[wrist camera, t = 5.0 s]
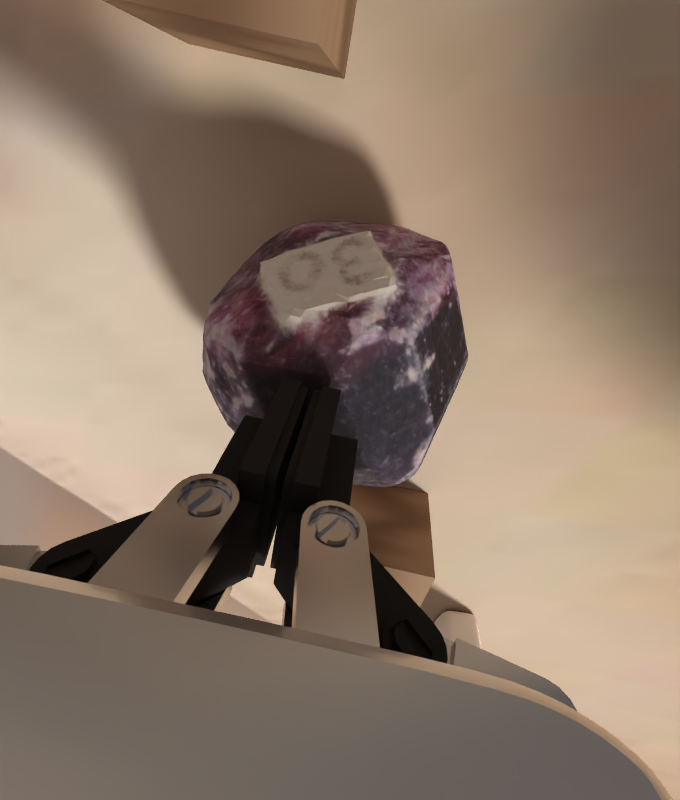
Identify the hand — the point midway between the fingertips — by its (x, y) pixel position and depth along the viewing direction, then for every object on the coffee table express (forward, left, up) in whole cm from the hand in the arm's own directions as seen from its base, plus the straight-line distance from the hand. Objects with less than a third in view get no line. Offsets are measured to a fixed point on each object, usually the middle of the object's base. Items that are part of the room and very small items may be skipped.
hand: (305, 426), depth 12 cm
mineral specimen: (0, 0, -10) cm, 10 cm away
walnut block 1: (-4, +13, -10) cm, 17 cm away
